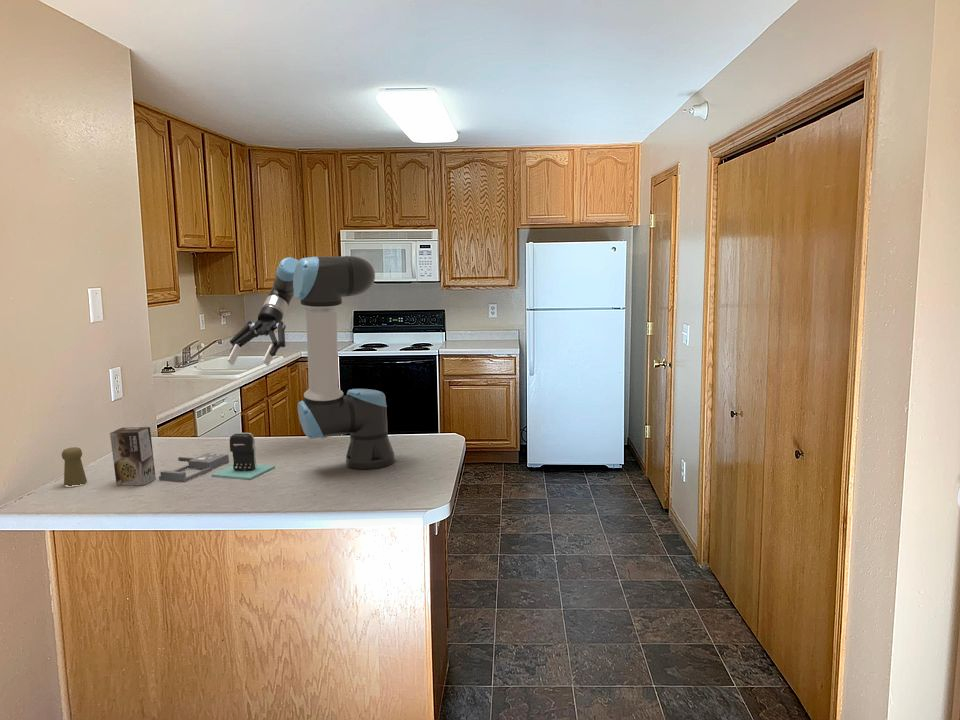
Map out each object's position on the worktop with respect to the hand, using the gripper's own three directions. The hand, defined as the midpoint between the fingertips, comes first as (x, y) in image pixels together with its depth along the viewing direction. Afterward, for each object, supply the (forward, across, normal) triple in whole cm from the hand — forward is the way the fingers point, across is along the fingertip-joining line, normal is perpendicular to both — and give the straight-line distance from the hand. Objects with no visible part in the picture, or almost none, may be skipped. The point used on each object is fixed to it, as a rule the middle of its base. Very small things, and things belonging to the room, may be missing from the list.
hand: (247, 362), depth 221 cm
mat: (+32, -6, -13) cm, 35 cm away
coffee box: (+44, +20, -2) cm, 48 cm away
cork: (+48, +37, +3) cm, 61 cm away
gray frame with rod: (+34, +15, -11) cm, 38 cm away
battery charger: (+32, -6, -12) cm, 35 cm away
